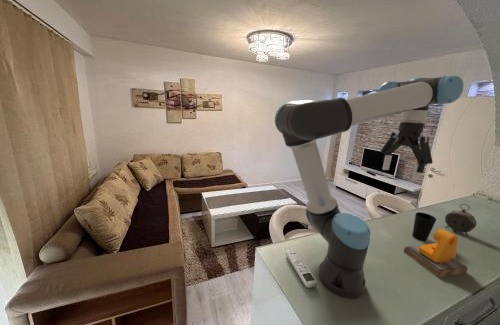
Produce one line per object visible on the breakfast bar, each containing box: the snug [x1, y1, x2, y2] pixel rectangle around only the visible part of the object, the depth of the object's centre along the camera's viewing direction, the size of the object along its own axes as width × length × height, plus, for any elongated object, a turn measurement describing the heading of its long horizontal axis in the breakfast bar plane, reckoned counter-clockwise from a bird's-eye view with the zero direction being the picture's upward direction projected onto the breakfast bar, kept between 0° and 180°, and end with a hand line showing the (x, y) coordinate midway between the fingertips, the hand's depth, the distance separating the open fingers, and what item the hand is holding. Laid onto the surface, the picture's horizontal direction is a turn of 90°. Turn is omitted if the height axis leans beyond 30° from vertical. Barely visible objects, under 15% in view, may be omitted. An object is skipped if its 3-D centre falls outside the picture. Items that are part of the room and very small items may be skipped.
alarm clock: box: [444, 203, 477, 237], centre depth 105 cm, size 11×5×16 cm, turn 29°
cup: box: [412, 211, 437, 242], centre depth 99 cm, size 8×8×12 cm
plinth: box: [403, 244, 469, 278], centre depth 84 cm, size 14×14×3 cm
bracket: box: [418, 228, 458, 263], centre depth 82 cm, size 11×7×12 cm, turn 106°
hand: (399, 174), depth 83 cm, fingers open, 13 cm apart
